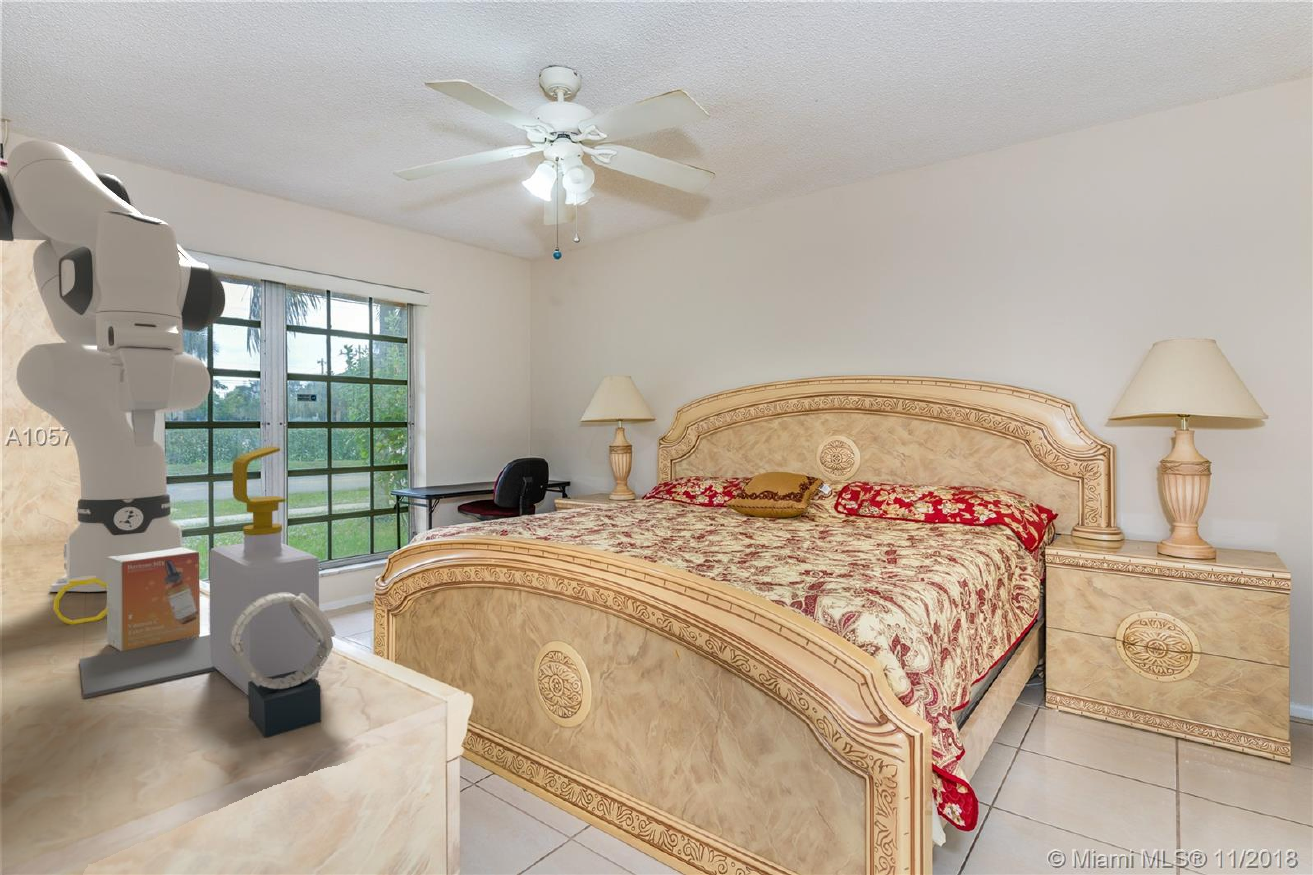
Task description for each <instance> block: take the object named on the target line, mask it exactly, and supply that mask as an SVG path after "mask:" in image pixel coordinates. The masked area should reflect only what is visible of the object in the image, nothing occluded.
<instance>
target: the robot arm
mask: <svg viewBox="0 0 1313 875" xmlns="http://www.w3.org/2000/svg"><path fill="white" fill-rule="evenodd" d="M134 204H135V203H134V201H133V197H132V196H131V194H130V193H129V191H128V190H127V189H126V187H125V185H124V183H123V181H121V180H120V179H118V178H117V177H116V176H115V175H112V174H108V173H103V172H98V171H94V170H93V169H92V167H90V166H89V164H87V163H86V162H85V161H84V160H83V159H82V158H81V157H79V156H78V155H77V154H76V153H74V152H73V151H71V150H70V148H69V149H68V148H67V147H65V146H64V145H62V144H59V143H56V142H53V141H49V140H45V139H44V140H42V139H33V140H28V141H23V142H21V143H20V144H18V145H16V146H15V147H14V148H13V149H12V150H11V152H10V153H9V155H8V157H7V163H6V170H5V171H3V170H2V171H0V241H3V242H14V240H21V241H22V240H23V241H42V242H41V243H40V244H39V245H37V247H36V248H35V250H34V252H33V256H32V262H33V263H32V266H33V272H34V273H33V274H34V279H35V282H36V286H37V289H38V292H39V294H40V297H41V299H42V302H43V304H44V307H45V309H46V311H47V314H48V316H49V319H50V320H51V324H52V326H53V328H54V331H55V332H56V334H58V336H59V337H60V338H61V339H62V340H63V341H65V342H54V343H53V342H51V343H43V344H36V345H33V347H30V348H29V349H28V350H27V351H26V352H25V353H24V354H23V355H22V357H21V359H20V360H19V362H18V365H17V367H16V376H15V377H16V381H17V385H18V388H19V390H20V391H21V393H22V394H23V396H24V398H26V399H27V401H29V402H30V403H31V404H33V405H34V406H35V407H38V408H39V409H41V410H43V412H46V414H48V415H50V416H52V418H54V419H55V420H56V421H57V422H58V423H59V424H60V425H61V426H62V427H63V429H64V430H65V432H67V434H68V435H69V438H70V439H71V441H72V443H73V446H74V447H75V450H76V455H77V460H78V469H79V478H80V479H79V480H80V494H81V495H80V496H81V497H80V498H79V499H78V500H77V507H76V513H77V521H78V522H79V525H78V526H77V528H76V529H75V530H74V531H72V532H71V533H70V534H69V536H67V537H66V542H64V545H63V559H64V560H66V561H64V564H63V566H64V567H63V568H64V570H65V571H66V573H65V574H64V575H62V576H60V578H58V579H57V580H56V581H54V582H52V584H50V587H49V592H51V593H52V592H53V593H54V592H57V593H58V592H59V591H60V589H61V588H63V587H64V586H65V585H67V584H69V580H70V579H73V578H76V577H82V576H92V575H93V576H97V580H100V581H103V582H105V583H106V584H107V566H106V563H107V562H106V560H107V557H110V556H123V555H131V554H138V553H146V552H153V551H161V550H168V549H174V548H180V547H183V546H184V545H183V531H182V527H181V526H180V525H178V524H177V523H175V522H173V520H172V519H171V517H169V516H170V515H171V506H172V504H171V503H172V501H171V496H170V494H168V493H167V458H166V456H167V454H166V453H165V450H164V449H163V447H162V446H161V445H160V444H159V443H158V442H156V441H155V439H154V432H155V425H156V414H170V413H171V414H172V413H175V412H176V413H177V412H182V411H187V410H193V409H197V408H198V407H200V406H201V405H202V404H203V403H204V402H205V400H206V399H207V398H208V395H209V393H210V390H211V376H210V372H209V370H208V368H207V367H206V366H205V364H204V362H202V360H201V359H200V358H198V357H197V356H194V355H192V354H189V353H187V352H186V351H184V339H183V338H184V335H183V331H190V332H197V333H198V332H201V331H202V330H204V329H206V328H208V327H210V326H211V325H213V324H214V323H215V322H216V321H217V320H219V319H220V317H221V316H222V315H223V313H224V311H225V306H226V293H225V288H224V285H223V283H222V281H221V280H220V278H219V277H218V275H217V274H216V273H215V272H214V271H213V270H212V268H210V267H209V265H208V264H205V263H202V262H198V261H197V260H195V259H194V258H193V257H192V256H190V255H189V253H188V252H186V251H185V250H184V249H183V247H181V245H179V244H178V241H177V237H176V234H175V230H174V228H173V226H171V225H170V224H168V223H167V222H166V221H164V220H161V219H158V218H155V217H152V216H151V217H150V216H147V215H145V214H144V213H142V212H141V211H138V210H137V209H136V208H135V205H134ZM129 413H130V419H131V426H130V423H129V421H128V418H127V414H129ZM65 592H81V593H82V592H84V593H86V592H87V593H90V592H107V589H106V588H105V587H104V586H103V585H100V584H97V583H90V584H86V585H78V586H73V587H71V588H70V589H68V590H66V591H65Z"/></svg>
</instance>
